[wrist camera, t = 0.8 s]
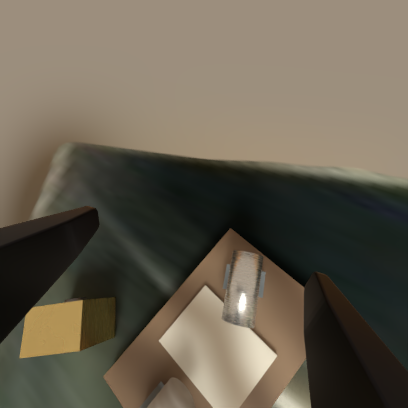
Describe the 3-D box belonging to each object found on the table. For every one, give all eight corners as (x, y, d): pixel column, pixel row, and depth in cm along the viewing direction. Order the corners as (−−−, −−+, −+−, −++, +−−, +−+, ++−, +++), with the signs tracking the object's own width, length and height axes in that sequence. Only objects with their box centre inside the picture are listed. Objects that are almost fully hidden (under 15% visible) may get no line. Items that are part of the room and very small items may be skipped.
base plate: (198, 495, 16) (177, 592, 11) (112, 370, 20) (67, 399, 15) (330, 312, 19) (362, 322, 14) (231, 231, 23) (227, 215, 18)
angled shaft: (258, 322, 18) (261, 331, 15) (220, 312, 19) (214, 319, 15) (265, 261, 20) (270, 256, 16) (230, 254, 21) (226, 247, 17)
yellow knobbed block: (115, 340, 21) (79, 355, 17) (66, 346, 22) (18, 362, 17) (115, 293, 23) (82, 296, 18) (70, 300, 23) (27, 304, 19)
